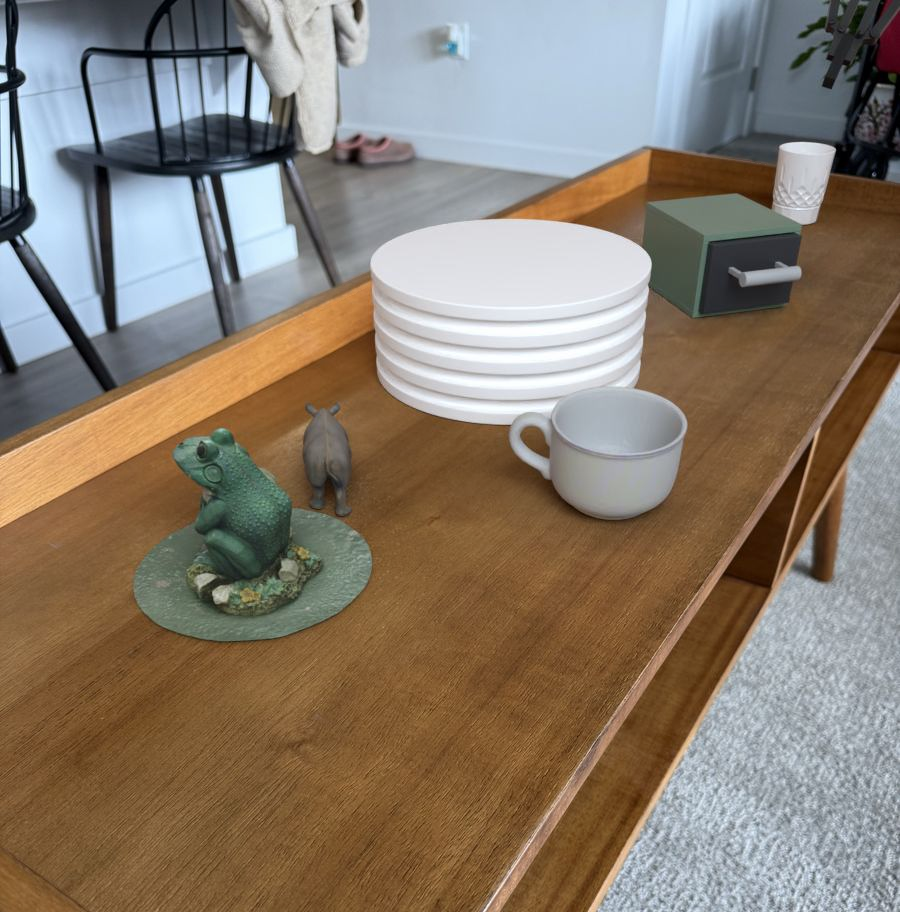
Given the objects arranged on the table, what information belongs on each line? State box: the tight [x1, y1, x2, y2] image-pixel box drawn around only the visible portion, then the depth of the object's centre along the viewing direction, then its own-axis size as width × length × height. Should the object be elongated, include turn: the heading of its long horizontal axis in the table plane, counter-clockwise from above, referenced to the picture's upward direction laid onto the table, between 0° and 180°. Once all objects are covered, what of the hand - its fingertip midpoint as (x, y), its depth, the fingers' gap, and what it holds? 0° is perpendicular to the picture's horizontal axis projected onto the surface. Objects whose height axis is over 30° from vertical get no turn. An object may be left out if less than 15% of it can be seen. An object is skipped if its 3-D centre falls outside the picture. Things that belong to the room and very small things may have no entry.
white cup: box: [771, 141, 837, 226], centre depth 143 cm, size 8×8×10 cm
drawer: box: [699, 233, 803, 314], centre depth 115 cm, size 18×11×8 cm, turn 17°
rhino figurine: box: [301, 402, 353, 517], centre depth 83 cm, size 4×14×6 cm, turn 9°
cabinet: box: [641, 193, 803, 319], centre depth 118 cm, size 15×13×10 cm
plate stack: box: [369, 218, 652, 426], centre depth 100 cm, size 28×28×12 cm
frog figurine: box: [132, 427, 373, 642], centre depth 70 cm, size 18×18×12 cm
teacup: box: [508, 386, 688, 521], centre depth 79 cm, size 14×11×8 cm
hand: (828, 82), depth 138 cm, fingers closed
